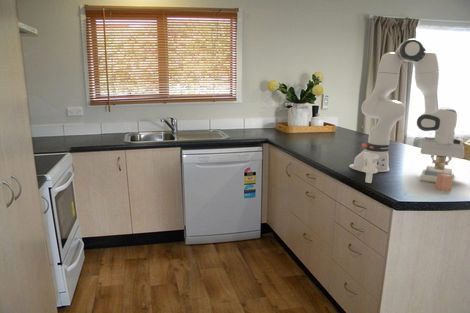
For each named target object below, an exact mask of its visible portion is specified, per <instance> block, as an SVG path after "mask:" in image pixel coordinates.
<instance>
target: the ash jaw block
mask: <svg viewBox="0 0 470 313" xmlns="http://www.w3.org/2000/svg"><path fill="white" fill-rule="evenodd" d="M435 160H436V162H435V164H434V166H435V169H438V170H444V168H446V167H445V166H446V165H445V161H447V157H444V156H435Z"/></svg>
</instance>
